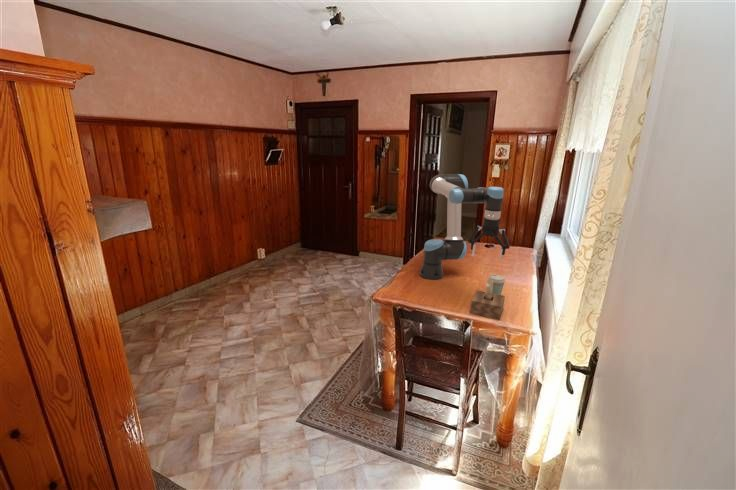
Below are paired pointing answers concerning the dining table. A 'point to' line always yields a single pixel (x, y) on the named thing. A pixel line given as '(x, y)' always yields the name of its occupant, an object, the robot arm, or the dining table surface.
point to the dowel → (488, 290)
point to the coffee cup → (497, 283)
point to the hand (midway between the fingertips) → (486, 258)
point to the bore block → (487, 305)
